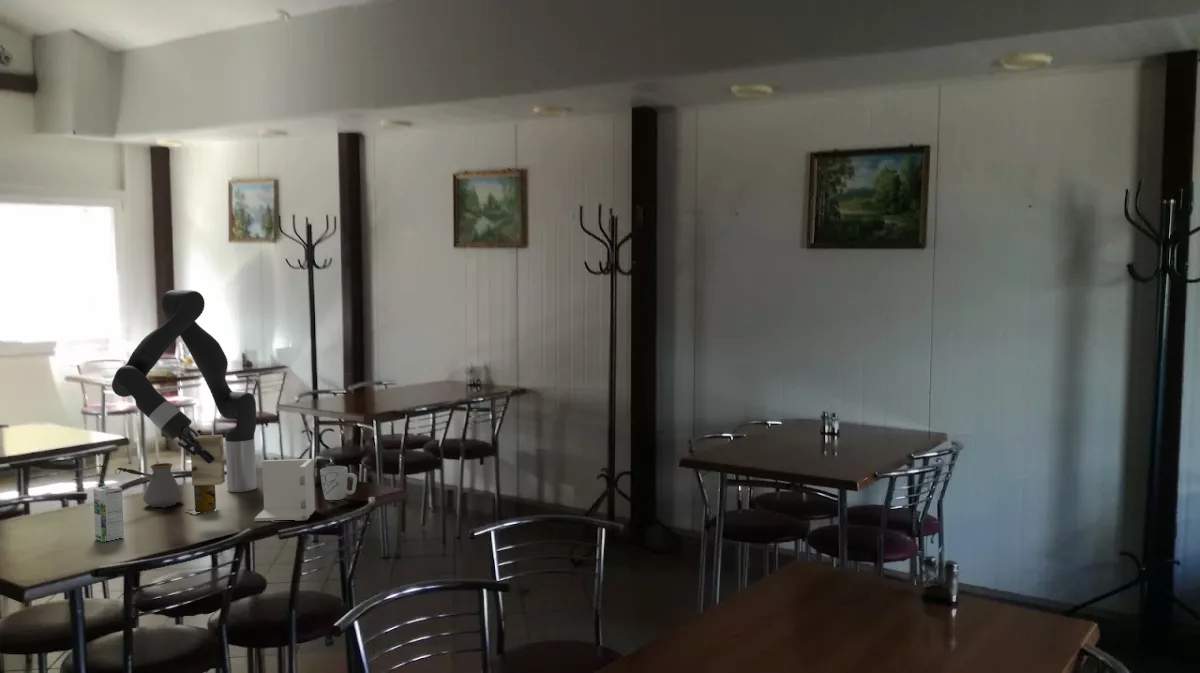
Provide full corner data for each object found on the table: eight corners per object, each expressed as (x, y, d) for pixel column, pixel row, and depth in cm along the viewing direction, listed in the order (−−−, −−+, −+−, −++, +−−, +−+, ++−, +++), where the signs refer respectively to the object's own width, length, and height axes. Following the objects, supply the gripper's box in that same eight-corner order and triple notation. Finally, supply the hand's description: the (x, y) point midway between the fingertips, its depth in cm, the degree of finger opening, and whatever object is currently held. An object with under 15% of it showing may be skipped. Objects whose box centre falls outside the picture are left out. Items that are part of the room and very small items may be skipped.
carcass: (265, 511, 288) (263, 460, 287) (315, 509, 289) (313, 458, 288) (253, 523, 275) (250, 469, 273) (305, 521, 276) (303, 467, 275)
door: (197, 482, 277) (194, 435, 276) (224, 481, 278) (222, 434, 277) (190, 486, 272) (188, 438, 271) (219, 485, 273) (217, 437, 272)
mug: (360, 495, 307) (359, 465, 306) (354, 501, 299) (353, 470, 298) (325, 496, 307) (324, 466, 306) (318, 502, 298) (317, 471, 298)
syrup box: (94, 539, 261) (91, 488, 260) (116, 534, 265) (113, 484, 264) (103, 543, 257) (100, 491, 256) (125, 538, 261) (122, 487, 260)
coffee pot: (166, 499, 307) (164, 453, 306) (191, 502, 301) (188, 456, 300) (106, 514, 288) (104, 466, 287) (131, 518, 283) (128, 469, 281)
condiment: (221, 510, 291) (219, 472, 290) (193, 516, 285) (191, 477, 284) (211, 506, 296) (210, 469, 295) (184, 511, 290) (182, 473, 289)
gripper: (169, 414, 266) (215, 455, 268) (187, 407, 280) (231, 446, 282) (151, 433, 266) (197, 474, 268) (170, 425, 280) (213, 463, 282)
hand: (214, 459), depth 275 cm, fingers closed on door, 4 cm apart
